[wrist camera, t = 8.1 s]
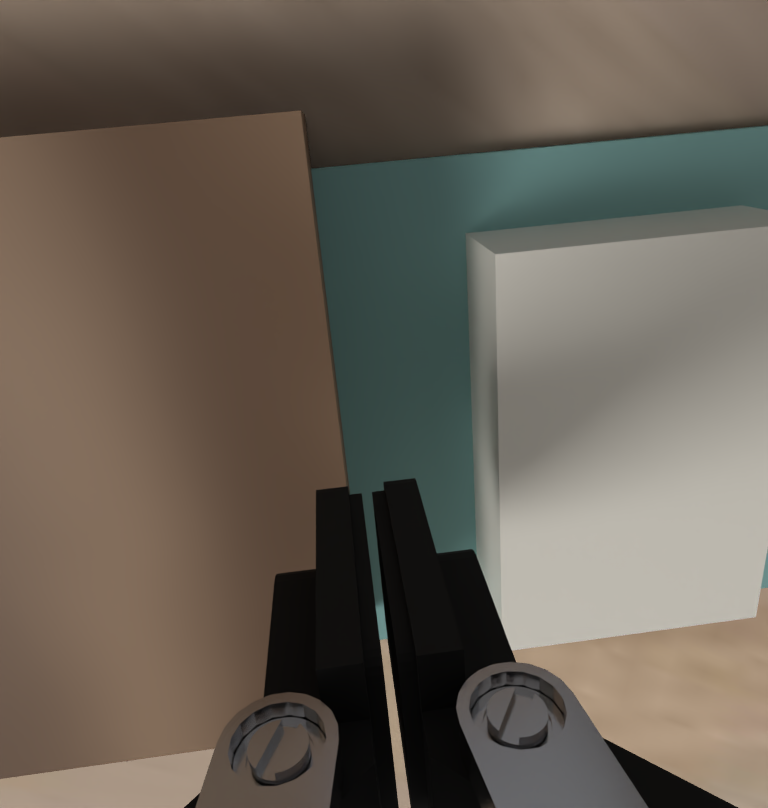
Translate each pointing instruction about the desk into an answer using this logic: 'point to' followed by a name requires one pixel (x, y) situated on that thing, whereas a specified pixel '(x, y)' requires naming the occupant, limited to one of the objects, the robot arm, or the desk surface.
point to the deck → (154, 428)
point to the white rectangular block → (620, 421)
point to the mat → (447, 286)
